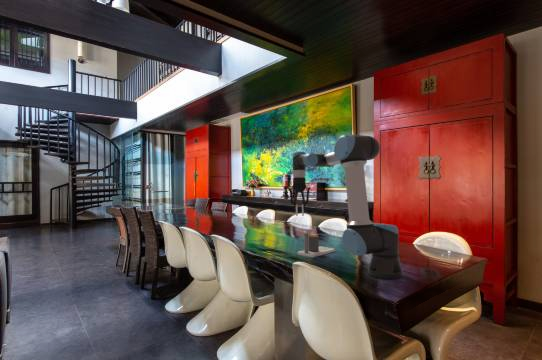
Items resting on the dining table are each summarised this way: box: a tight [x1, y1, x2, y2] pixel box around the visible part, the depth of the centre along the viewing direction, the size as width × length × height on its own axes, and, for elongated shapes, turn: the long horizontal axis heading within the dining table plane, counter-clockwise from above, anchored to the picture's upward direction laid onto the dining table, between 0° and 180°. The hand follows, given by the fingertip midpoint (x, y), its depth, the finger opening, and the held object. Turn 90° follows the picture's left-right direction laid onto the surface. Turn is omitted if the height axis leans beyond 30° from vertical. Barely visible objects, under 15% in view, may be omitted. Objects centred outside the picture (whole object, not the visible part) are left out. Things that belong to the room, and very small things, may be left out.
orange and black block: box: [308, 233, 319, 252], centre depth 173 cm, size 4×4×11 cm
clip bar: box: [292, 227, 310, 235], centre depth 176 cm, size 17×3×2 cm, turn 22°
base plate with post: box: [297, 234, 336, 259], centre depth 175 cm, size 21×11×13 cm, turn 132°
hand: (299, 215), depth 181 cm, fingers open, 3 cm apart
